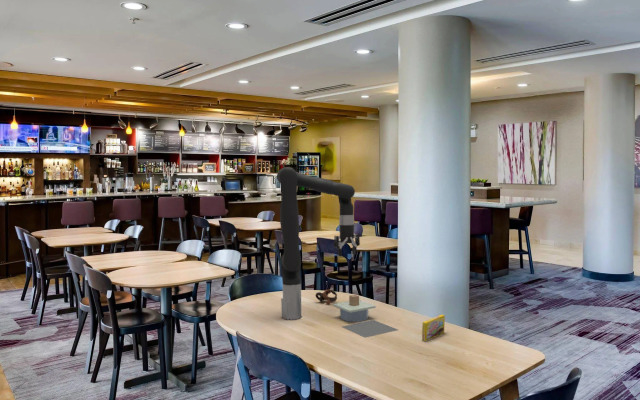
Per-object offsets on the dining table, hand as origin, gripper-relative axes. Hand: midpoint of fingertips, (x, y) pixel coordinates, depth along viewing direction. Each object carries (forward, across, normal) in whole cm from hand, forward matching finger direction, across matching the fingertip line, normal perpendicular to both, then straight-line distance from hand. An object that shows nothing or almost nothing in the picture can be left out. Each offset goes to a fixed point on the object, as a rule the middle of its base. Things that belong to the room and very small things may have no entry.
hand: (347, 255), depth 270 cm
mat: (+30, +7, +30) cm, 43 cm away
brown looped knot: (+30, -1, -23) cm, 38 cm away
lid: (+24, +4, +11) cm, 27 cm away
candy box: (+30, -10, +53) cm, 62 cm away
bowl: (+30, +4, +11) cm, 32 cm away
